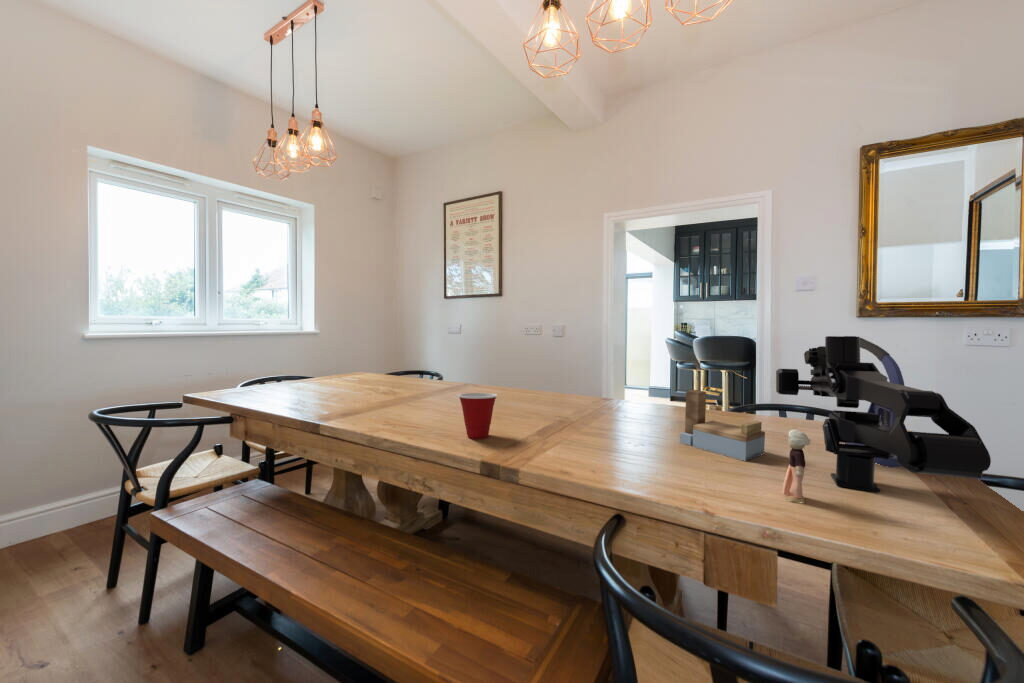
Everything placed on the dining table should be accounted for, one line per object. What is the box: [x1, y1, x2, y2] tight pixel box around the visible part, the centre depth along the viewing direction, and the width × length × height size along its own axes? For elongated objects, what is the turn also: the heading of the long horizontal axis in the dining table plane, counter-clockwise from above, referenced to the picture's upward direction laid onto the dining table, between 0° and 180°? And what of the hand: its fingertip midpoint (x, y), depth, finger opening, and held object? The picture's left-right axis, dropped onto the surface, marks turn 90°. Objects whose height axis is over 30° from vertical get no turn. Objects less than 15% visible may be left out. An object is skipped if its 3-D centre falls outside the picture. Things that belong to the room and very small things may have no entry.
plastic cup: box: [457, 392, 498, 440], centre depth 111 cm, size 11×11×12 cm
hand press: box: [844, 337, 906, 469], centre depth 95 cm, size 19×9×28 cm, turn 164°
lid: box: [693, 420, 766, 442], centre depth 100 cm, size 13×9×4 cm
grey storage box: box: [679, 429, 766, 462], centre depth 102 cm, size 17×9×4 cm, turn 34°
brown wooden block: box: [684, 389, 707, 435], centre depth 107 cm, size 4×4×14 cm
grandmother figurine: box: [781, 428, 811, 504], centre depth 72 cm, size 8×4×13 cm, turn 159°
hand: (810, 382), depth 102 cm, fingers open, 9 cm apart
